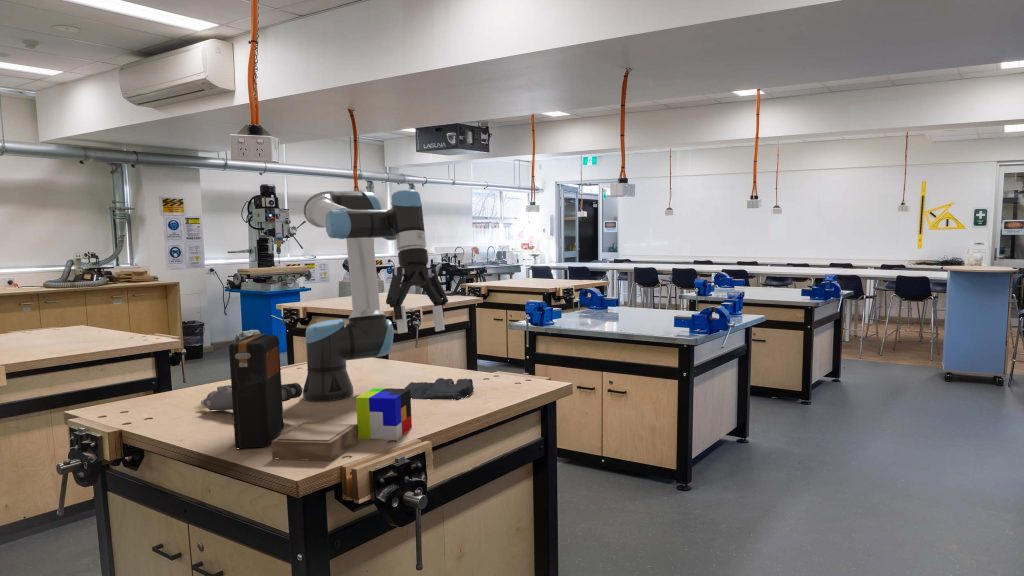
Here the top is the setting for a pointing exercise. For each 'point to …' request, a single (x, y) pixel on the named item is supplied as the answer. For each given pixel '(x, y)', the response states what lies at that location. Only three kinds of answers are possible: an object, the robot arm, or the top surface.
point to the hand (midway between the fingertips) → (422, 331)
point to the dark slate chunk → (441, 389)
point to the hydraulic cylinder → (224, 396)
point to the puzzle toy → (383, 413)
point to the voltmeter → (256, 390)
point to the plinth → (315, 441)
